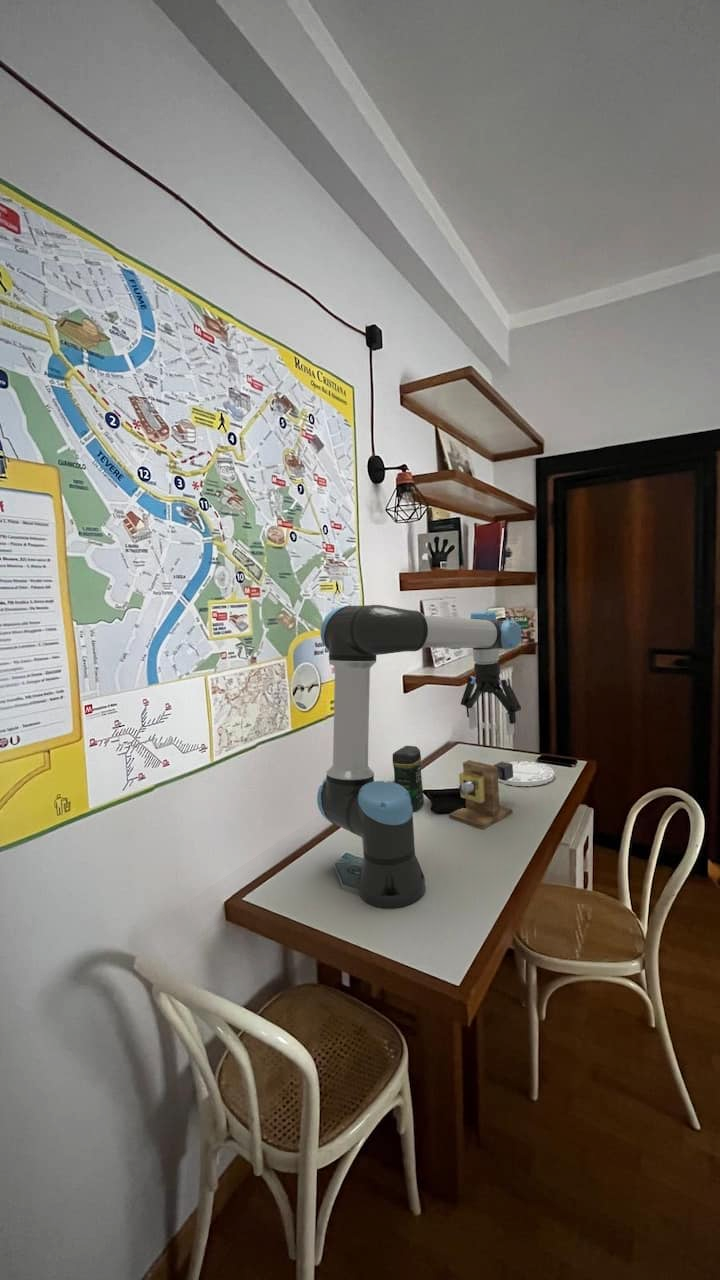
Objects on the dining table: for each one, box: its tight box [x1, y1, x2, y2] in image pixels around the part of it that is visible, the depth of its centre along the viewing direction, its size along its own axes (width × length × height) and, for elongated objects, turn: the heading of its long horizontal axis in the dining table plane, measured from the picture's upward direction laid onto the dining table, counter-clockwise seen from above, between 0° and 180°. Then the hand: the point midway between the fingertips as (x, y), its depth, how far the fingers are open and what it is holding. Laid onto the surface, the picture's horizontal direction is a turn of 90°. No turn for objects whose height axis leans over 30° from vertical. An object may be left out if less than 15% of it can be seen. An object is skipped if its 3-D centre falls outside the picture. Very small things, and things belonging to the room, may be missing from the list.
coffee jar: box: [392, 745, 425, 812], centre depth 167 cm, size 10×8×19 cm
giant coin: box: [498, 760, 556, 787], centre depth 185 cm, size 20×20×3 cm
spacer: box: [458, 771, 486, 803], centre depth 154 cm, size 2×7×7 cm, turn 40°
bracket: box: [448, 759, 513, 830], centre depth 156 cm, size 14×12×15 cm
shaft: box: [458, 761, 513, 795], centre depth 158 cm, size 21×4×4 cm, turn 130°
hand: (491, 731), depth 164 cm, fingers open, 13 cm apart
